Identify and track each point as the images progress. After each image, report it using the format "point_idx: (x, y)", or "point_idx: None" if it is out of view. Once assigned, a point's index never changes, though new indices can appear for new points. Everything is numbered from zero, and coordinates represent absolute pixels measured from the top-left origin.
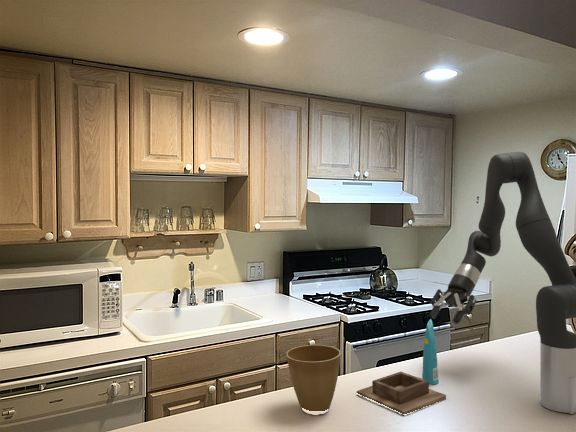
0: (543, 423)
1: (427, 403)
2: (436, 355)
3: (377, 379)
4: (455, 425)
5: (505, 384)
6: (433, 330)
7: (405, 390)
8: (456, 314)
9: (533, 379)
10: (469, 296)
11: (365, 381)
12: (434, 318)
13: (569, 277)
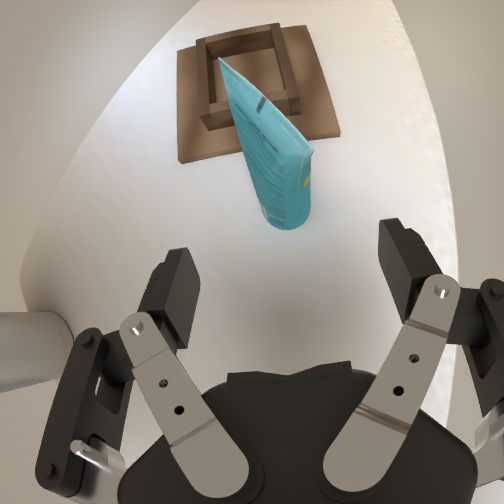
0: (36, 249)
1: (177, 102)
2: (260, 193)
3: (280, 32)
4: (108, 111)
5: None
6: (270, 158)
7: (196, 51)
8: (163, 281)
9: None
10: (98, 500)
11: (370, 77)
12: (379, 255)
13: None
